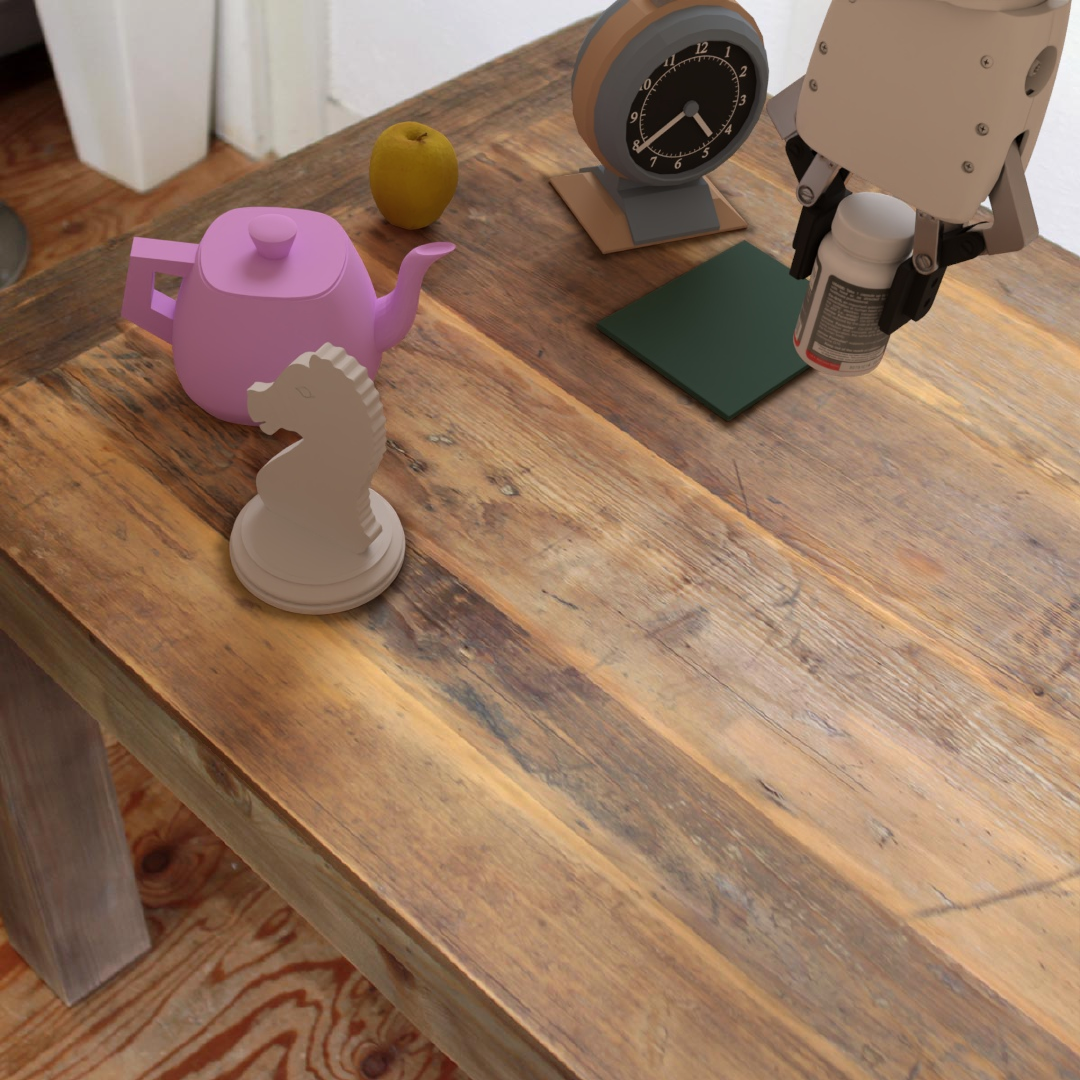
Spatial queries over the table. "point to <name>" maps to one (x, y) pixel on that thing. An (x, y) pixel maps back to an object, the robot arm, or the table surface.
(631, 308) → the mat
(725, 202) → the alarm clock
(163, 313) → the teapot
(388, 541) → the chess piece
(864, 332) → the pill bottle
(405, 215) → the apple
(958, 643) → the table surface
